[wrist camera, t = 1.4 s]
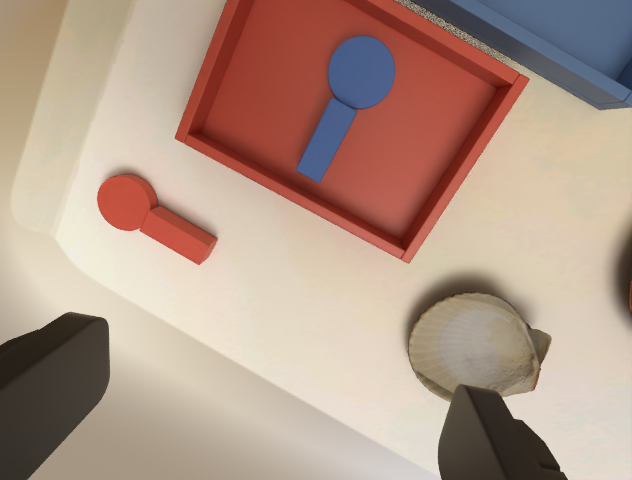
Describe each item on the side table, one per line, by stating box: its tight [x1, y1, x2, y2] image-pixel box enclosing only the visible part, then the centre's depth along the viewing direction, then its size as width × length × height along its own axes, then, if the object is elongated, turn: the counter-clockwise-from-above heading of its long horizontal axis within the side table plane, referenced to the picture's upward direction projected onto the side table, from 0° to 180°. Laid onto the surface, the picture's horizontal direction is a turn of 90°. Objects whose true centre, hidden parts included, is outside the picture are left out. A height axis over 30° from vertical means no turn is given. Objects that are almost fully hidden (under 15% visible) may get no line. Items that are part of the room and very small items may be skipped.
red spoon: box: [97, 174, 217, 265], centre depth 24 cm, size 8×4×2 cm, turn 59°
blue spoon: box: [296, 36, 395, 183], centre depth 21 cm, size 8×4×2 cm, turn 152°
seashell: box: [408, 292, 552, 402], centre depth 24 cm, size 8×3×8 cm
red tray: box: [175, 0, 530, 263], centre depth 21 cm, size 15×11×3 cm
